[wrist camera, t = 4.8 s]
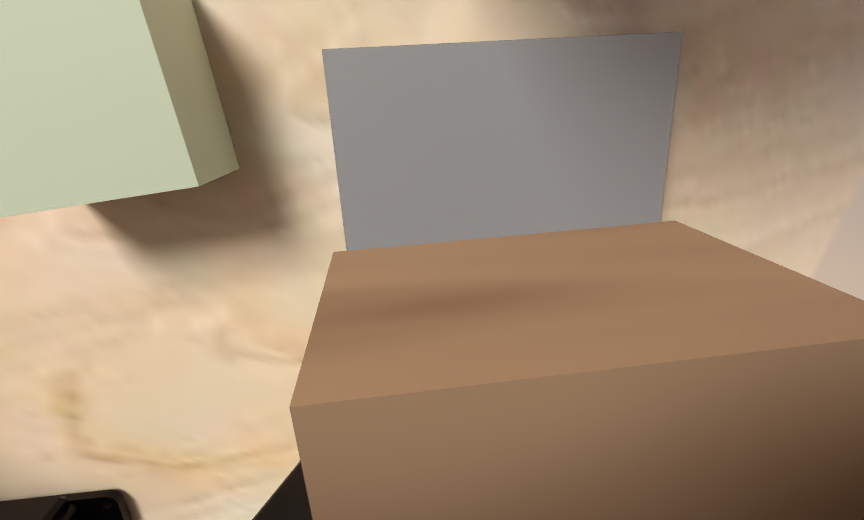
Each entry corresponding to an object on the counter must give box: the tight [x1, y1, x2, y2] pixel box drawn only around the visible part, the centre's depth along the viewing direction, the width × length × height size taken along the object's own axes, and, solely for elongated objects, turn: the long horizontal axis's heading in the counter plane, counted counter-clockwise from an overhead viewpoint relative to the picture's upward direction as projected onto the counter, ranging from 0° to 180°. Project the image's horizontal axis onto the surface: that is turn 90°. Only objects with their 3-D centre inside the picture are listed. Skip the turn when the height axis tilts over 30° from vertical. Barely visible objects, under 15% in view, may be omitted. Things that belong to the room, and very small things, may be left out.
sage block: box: [0, 0, 240, 217], centre depth 14 cm, size 6×6×4 cm
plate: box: [322, 32, 683, 251], centre depth 17 cm, size 12×12×2 cm
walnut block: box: [290, 221, 864, 520], centre depth 7 cm, size 6×6×4 cm
